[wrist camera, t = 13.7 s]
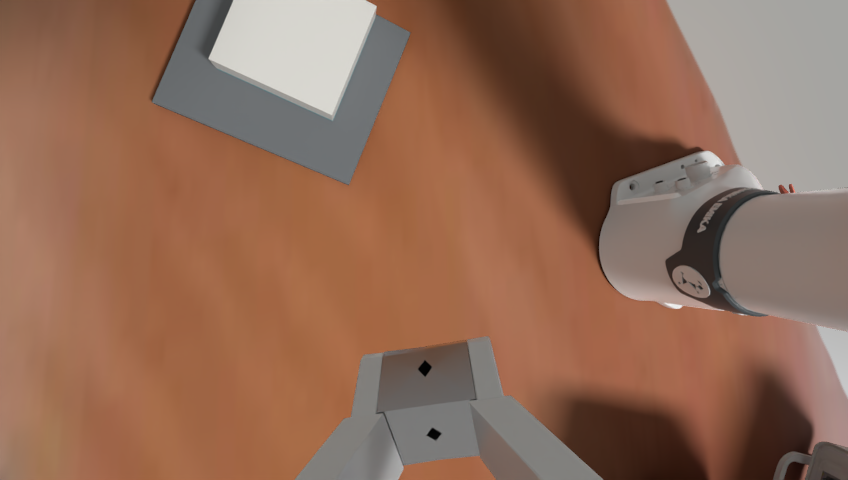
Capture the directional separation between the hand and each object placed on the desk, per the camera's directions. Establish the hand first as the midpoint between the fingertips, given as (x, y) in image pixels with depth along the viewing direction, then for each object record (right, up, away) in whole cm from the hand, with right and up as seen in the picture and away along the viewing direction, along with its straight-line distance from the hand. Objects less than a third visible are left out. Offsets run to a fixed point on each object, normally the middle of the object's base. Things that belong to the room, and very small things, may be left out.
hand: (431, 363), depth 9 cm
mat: (-14, +21, +30) cm, 39 cm away
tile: (-15, +18, +28) cm, 36 cm away
